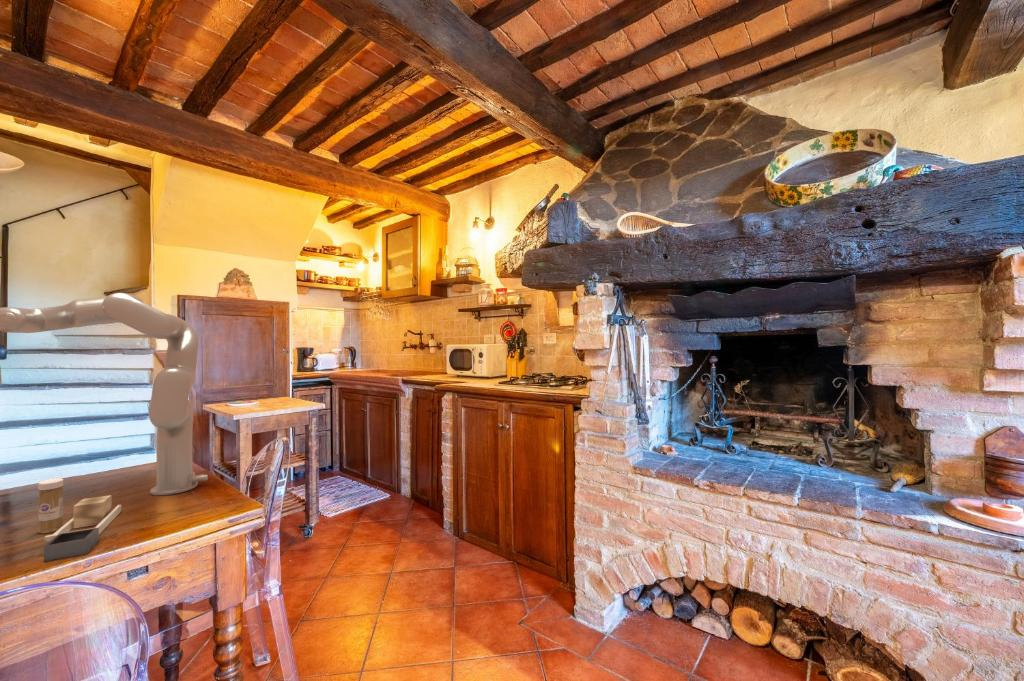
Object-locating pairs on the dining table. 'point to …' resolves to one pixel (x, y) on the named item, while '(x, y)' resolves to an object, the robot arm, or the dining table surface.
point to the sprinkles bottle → (50, 505)
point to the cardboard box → (91, 511)
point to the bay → (70, 525)
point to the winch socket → (71, 544)
